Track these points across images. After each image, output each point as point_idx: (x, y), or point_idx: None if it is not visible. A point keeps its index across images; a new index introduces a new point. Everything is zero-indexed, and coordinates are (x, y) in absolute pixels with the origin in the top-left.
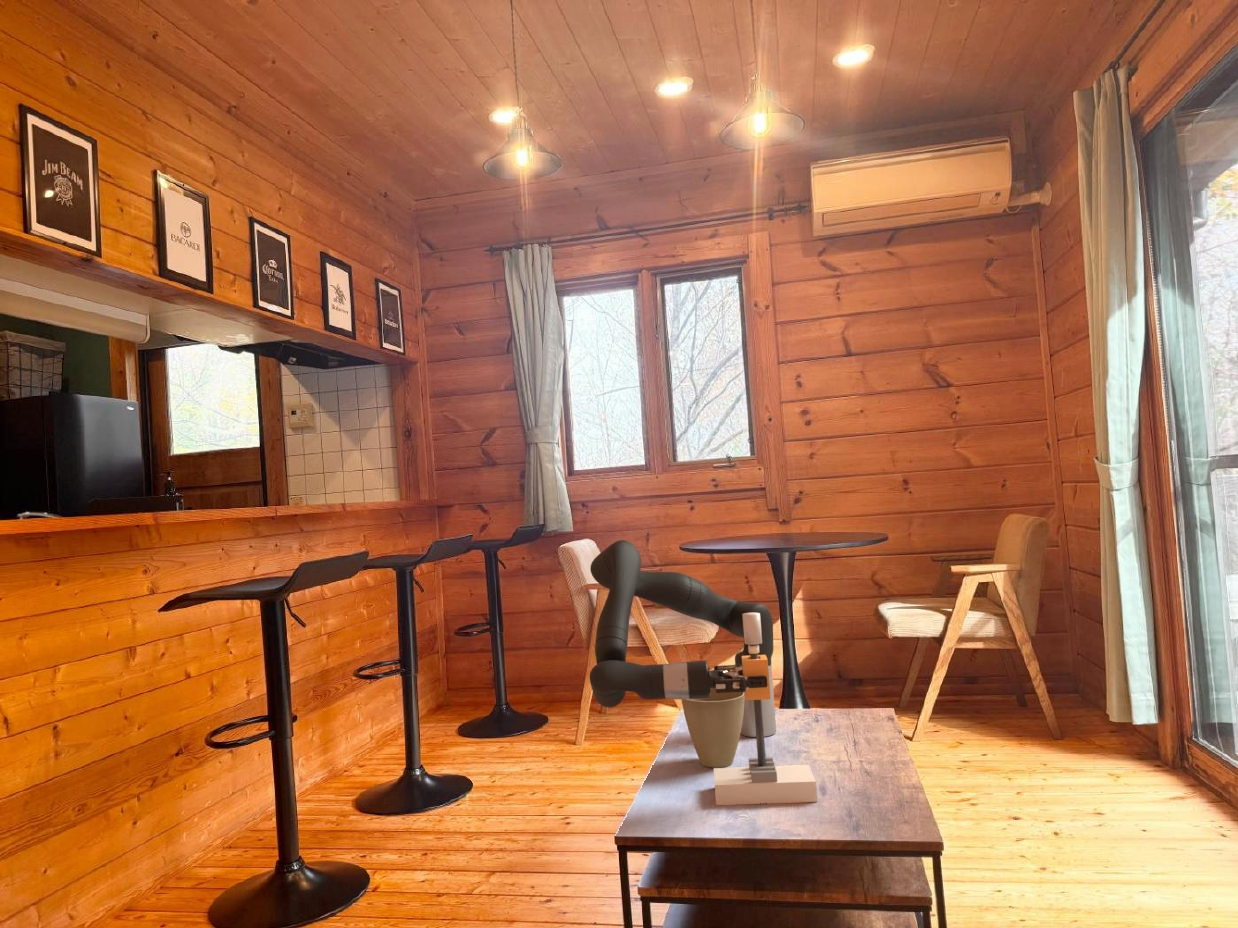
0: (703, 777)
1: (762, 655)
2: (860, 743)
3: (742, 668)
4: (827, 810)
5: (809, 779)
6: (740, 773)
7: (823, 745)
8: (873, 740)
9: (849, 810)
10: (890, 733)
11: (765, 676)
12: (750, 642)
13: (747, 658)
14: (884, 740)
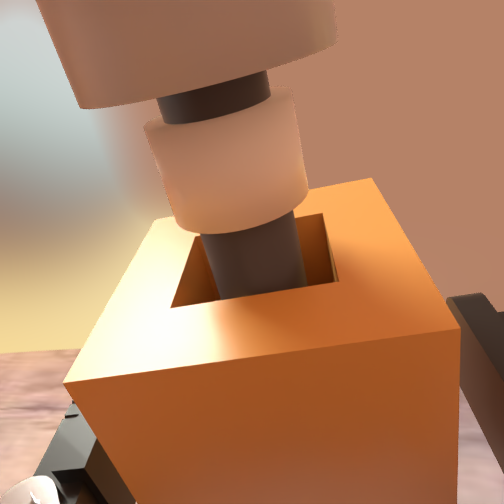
0: None
1: (173, 229)
2: (51, 398)
3: (139, 496)
4: (483, 491)
5: None
6: None
7: (12, 472)
8: (50, 377)
9: (465, 439)
10: (34, 353)
11: (476, 294)
12: (326, 6)
13: (278, 302)
14: (62, 362)
